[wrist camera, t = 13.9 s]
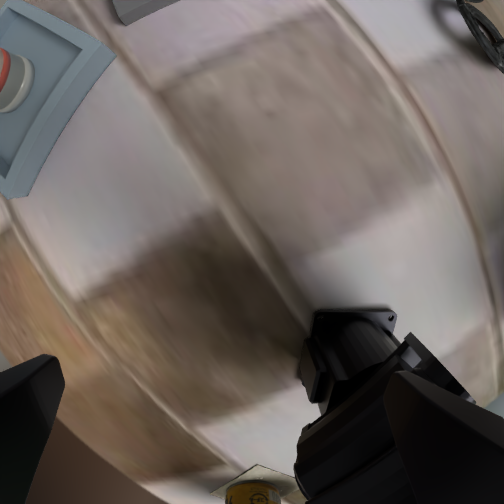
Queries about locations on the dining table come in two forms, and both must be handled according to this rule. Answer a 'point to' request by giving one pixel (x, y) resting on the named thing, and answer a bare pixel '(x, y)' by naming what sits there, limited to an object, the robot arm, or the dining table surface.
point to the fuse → (14, 80)
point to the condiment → (257, 487)
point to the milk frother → (498, 52)
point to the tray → (43, 88)
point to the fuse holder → (138, 8)
